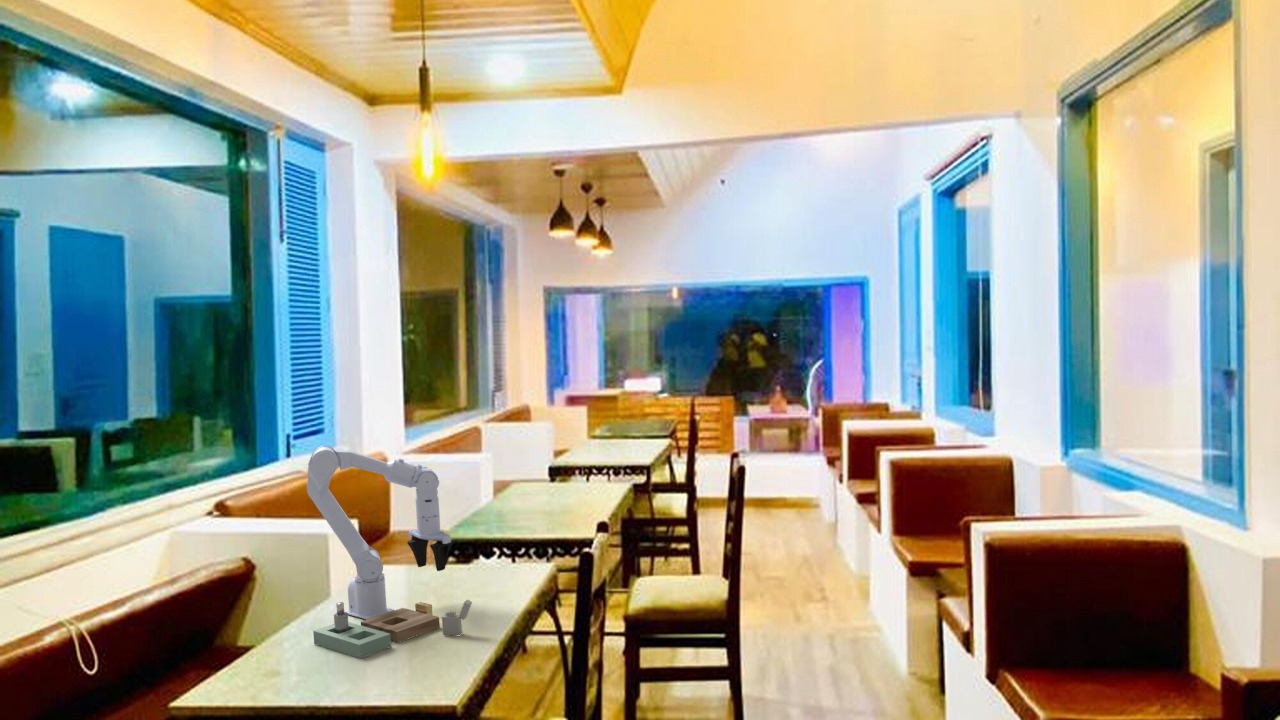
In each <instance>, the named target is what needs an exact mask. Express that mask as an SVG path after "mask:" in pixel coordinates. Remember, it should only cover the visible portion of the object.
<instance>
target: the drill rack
mask: <svg viewBox="0 0 1280 720" xmlns="http://www.w3.org/2000/svg"><path fill="white" fill-rule="evenodd" d="M348 626H349V630H348V631H345V632H342V633H340V634H337V633H335V624H334V623H333V624H329V625H327V626H324V627H321V628H320V627H319V628H318V629H315V630H313V631H312V632H313V644H314V645H317V644H318V645H317V646H320V645H321V647H323V646H324V648H327V649H330V650H332V651H335V652H338V653H342V654H345V655H348V656H352V657H355V658H358V659H362V658H366V657H368V656H371V655H373V654H376V653H379V652H381V650H382V651H384V650H386V648H387V649H389V648H388V647H390V648H392V641H391V636H390V634H389V633H386V632H382V631H379V630H375V629H372V628H368V627H364V626H361V624H358V623H352V622H350V621H348ZM383 649H384V650H383ZM378 651H379V652H378Z"/></svg>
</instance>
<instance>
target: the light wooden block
mask: <svg viewBox="0 0 1280 720" xmlns="http://www.w3.org/2000/svg"><path fill="white" fill-rule="evenodd" d="M414 607H415V609H414V610H415V611H417V612H421V613H426V614H430V615H433V613H434V612H433V604H432V603H431V604H430V603H427V602H422V601H419V602H416V603H414Z"/></svg>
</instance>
